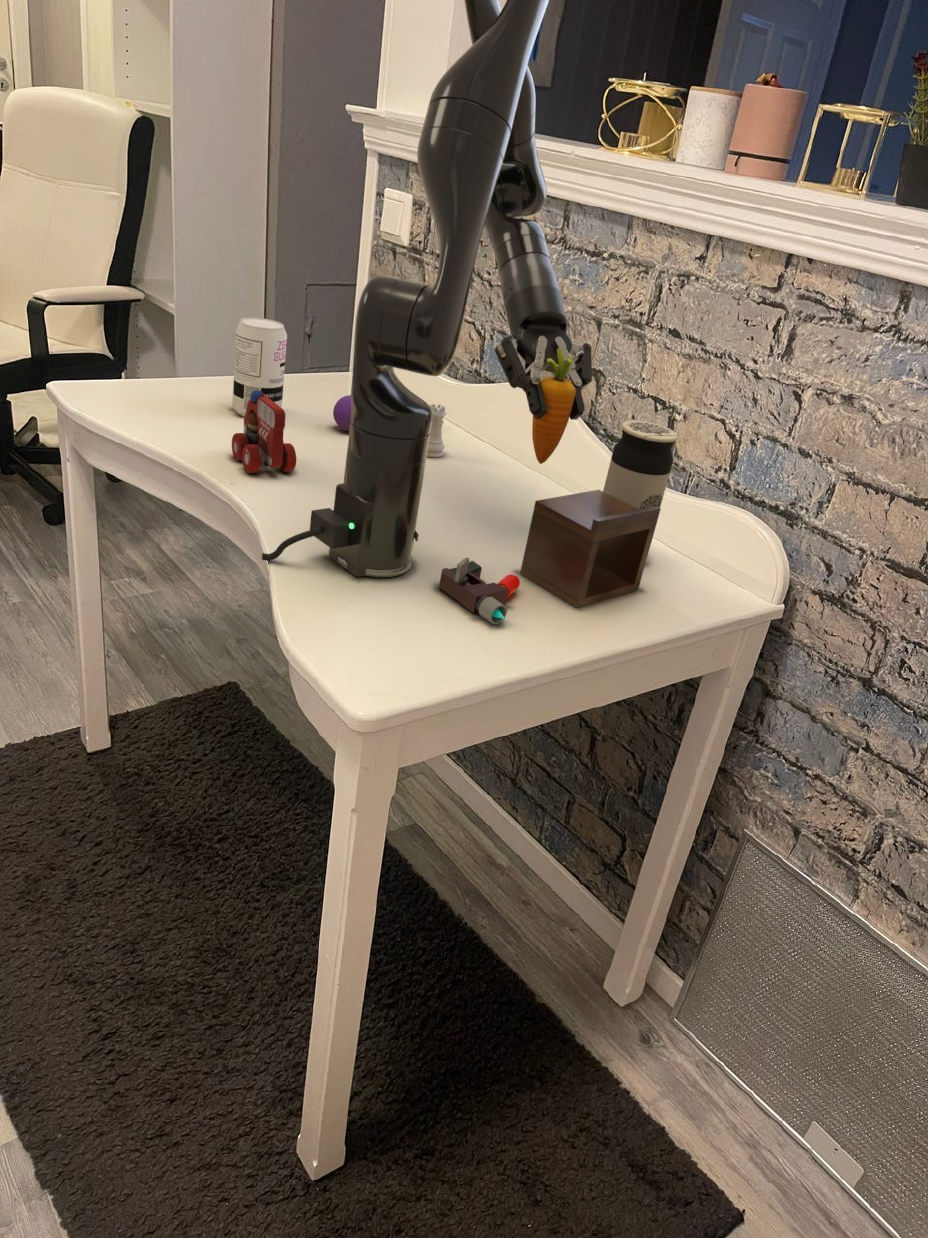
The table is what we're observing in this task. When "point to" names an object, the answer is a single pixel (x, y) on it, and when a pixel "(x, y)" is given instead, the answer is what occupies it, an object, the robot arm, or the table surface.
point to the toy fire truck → (263, 437)
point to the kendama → (343, 412)
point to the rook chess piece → (436, 432)
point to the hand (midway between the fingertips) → (559, 415)
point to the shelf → (588, 546)
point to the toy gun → (478, 590)
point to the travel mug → (641, 464)
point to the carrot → (553, 409)
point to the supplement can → (258, 361)
